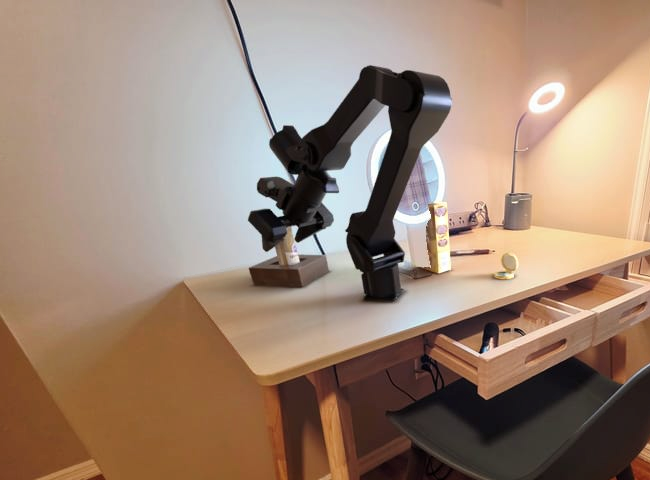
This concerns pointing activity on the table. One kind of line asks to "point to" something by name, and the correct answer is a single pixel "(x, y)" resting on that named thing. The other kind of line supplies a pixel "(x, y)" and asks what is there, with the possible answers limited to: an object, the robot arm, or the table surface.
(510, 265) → the eyeshadow
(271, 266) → the holder
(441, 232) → the candy box
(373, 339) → the table surface
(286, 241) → the sprinkles bottle
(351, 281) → the table surface
